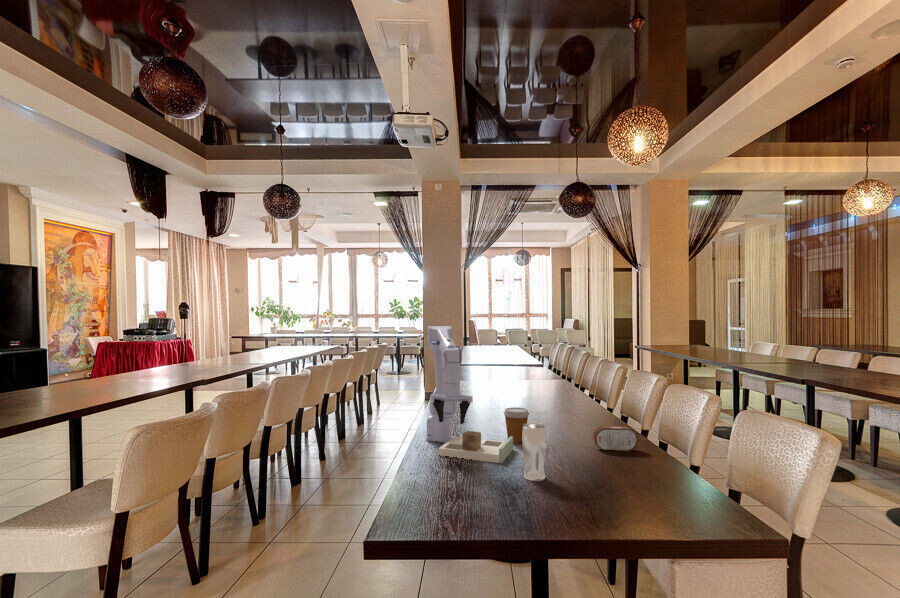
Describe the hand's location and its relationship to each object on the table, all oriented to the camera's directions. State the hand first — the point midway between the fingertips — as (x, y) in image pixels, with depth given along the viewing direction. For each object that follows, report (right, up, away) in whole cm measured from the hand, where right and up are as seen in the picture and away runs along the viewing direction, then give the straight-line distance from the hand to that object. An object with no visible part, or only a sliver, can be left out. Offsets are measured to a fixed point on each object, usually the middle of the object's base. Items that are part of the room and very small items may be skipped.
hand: (451, 422), depth 155 cm
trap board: (+9, -11, 0) cm, 14 cm away
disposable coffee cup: (+24, -11, +14) cm, 30 cm away
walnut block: (+7, -8, -3) cm, 11 cm away
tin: (+58, -11, +3) cm, 59 cm away
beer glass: (+24, -10, -24) cm, 35 cm away
